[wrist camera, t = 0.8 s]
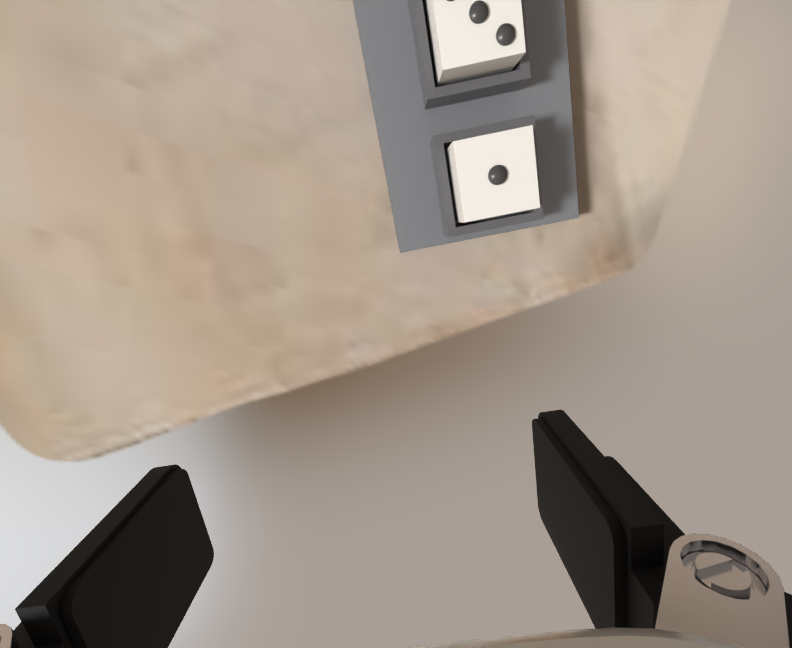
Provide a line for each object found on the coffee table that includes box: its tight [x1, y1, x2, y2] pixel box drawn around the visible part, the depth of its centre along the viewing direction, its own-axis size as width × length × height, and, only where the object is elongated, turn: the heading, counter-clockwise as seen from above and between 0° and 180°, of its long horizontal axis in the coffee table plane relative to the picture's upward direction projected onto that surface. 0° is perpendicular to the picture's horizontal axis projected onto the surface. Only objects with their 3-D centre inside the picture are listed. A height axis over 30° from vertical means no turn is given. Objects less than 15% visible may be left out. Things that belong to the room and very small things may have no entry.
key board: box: [353, 0, 579, 253], centre depth 27 cm, size 26×14×4 cm, turn 11°
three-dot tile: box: [425, 0, 526, 87], centre depth 24 cm, size 5×5×3 cm
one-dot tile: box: [447, 125, 540, 223], centre depth 26 cm, size 5×5×3 cm
